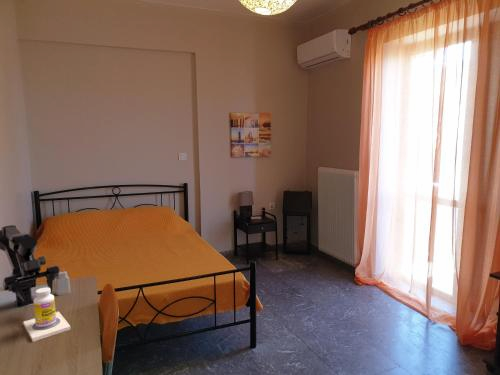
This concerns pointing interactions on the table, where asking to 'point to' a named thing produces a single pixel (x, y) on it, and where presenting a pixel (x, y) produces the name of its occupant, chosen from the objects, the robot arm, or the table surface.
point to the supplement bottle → (44, 308)
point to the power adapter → (62, 283)
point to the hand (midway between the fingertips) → (38, 296)
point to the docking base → (46, 328)
